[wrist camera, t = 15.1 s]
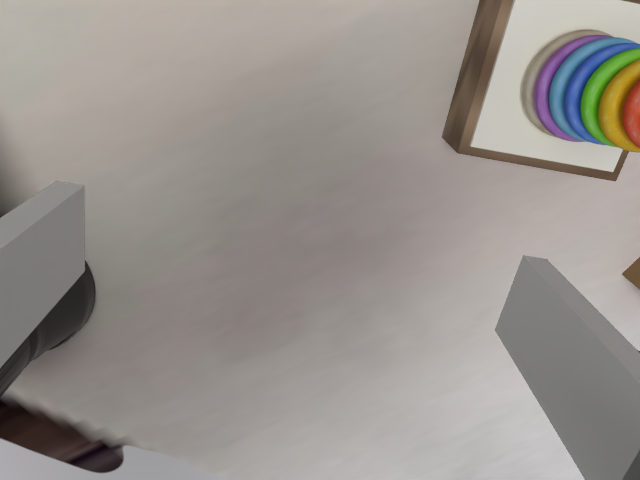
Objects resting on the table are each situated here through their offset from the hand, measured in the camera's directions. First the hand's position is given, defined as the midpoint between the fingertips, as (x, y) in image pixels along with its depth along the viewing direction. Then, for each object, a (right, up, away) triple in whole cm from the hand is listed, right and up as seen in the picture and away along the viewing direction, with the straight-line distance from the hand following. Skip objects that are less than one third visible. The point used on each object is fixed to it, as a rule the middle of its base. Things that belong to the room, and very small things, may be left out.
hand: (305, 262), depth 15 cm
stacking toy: (+20, +13, +24) cm, 34 cm away
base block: (+20, +16, +30) cm, 39 cm away
